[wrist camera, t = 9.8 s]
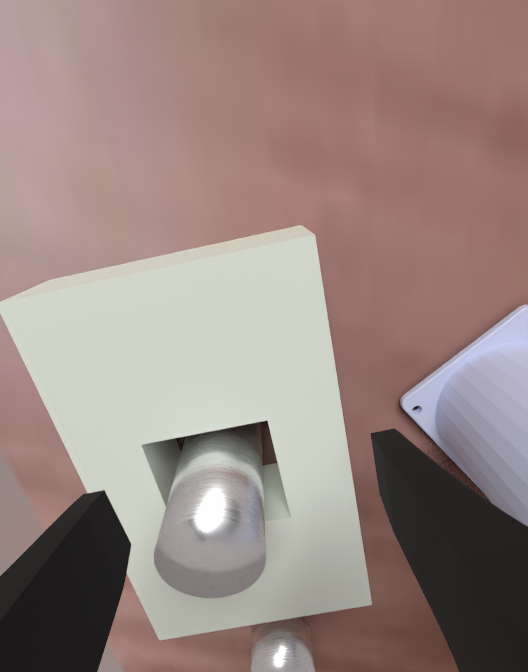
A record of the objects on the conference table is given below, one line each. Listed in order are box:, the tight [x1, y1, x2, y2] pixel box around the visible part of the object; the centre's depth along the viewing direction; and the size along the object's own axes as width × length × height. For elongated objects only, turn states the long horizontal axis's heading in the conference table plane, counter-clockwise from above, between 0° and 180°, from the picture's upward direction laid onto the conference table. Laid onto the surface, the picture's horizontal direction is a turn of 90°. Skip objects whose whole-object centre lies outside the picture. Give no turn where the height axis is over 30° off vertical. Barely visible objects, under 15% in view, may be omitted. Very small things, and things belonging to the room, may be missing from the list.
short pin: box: [251, 616, 315, 672], centre depth 25 cm, size 4×4×4 cm
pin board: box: [0, 225, 372, 640], centre depth 19 cm, size 20×12×4 cm, turn 12°
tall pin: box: [154, 422, 266, 598], centre depth 17 cm, size 4×4×8 cm
